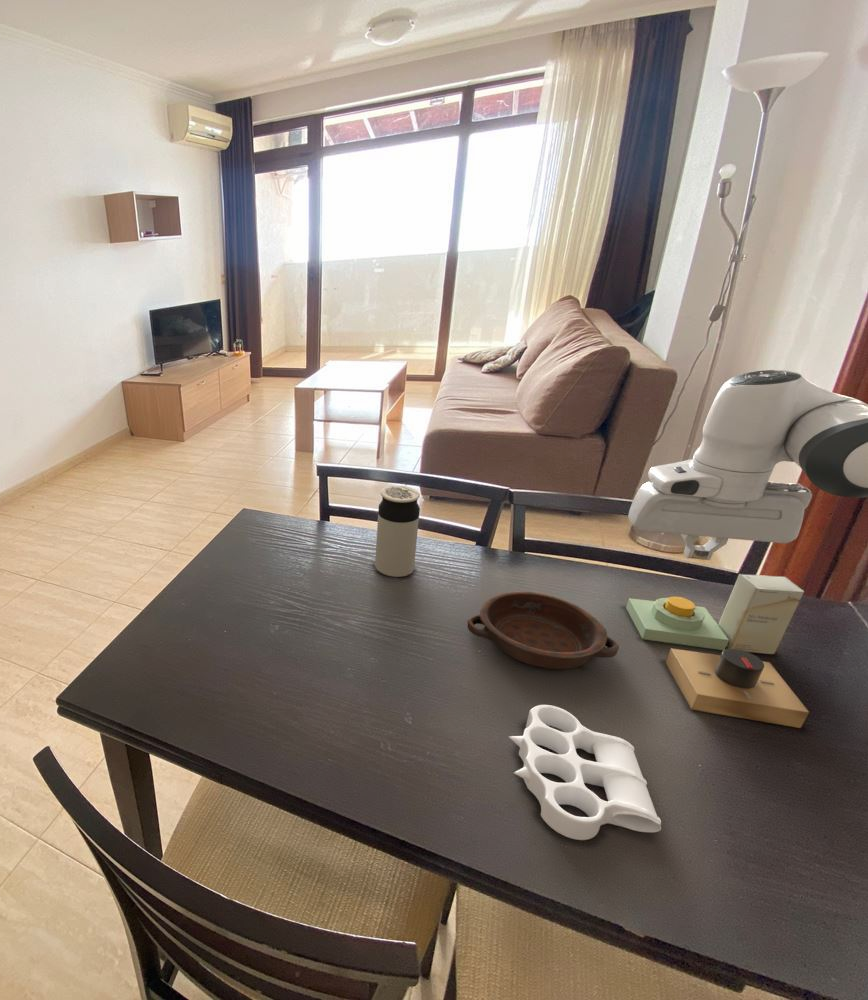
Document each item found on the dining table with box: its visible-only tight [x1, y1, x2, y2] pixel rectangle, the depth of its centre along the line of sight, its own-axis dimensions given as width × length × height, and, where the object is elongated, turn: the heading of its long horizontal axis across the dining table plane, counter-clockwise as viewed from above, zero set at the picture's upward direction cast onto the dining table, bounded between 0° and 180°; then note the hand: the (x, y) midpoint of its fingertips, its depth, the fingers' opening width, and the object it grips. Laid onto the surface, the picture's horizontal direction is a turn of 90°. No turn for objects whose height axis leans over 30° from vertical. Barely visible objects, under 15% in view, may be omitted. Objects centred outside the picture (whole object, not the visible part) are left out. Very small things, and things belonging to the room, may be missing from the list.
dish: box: [466, 590, 620, 670], centre depth 91 cm, size 18×22×5 cm
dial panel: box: [665, 648, 810, 729], centre depth 79 cm, size 12×10×3 cm
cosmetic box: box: [717, 573, 805, 655], centre depth 86 cm, size 6×4×12 cm
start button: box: [665, 596, 696, 617], centre depth 91 cm, size 4×4×2 cm
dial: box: [715, 648, 764, 688], centre depth 78 cm, size 4×4×4 cm
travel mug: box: [374, 485, 421, 578], centre depth 113 cm, size 8×8×18 cm
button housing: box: [625, 597, 729, 651], centre depth 92 cm, size 11×9×4 cm
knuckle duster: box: [508, 704, 662, 841], centre depth 69 cm, size 3×18×15 cm
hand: (696, 557), depth 87 cm, fingers closed
